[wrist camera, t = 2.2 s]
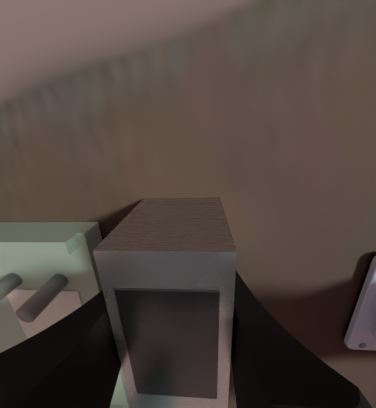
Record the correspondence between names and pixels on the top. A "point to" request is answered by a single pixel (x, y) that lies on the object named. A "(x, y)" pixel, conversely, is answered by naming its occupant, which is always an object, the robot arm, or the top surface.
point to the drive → (171, 301)
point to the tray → (47, 280)
